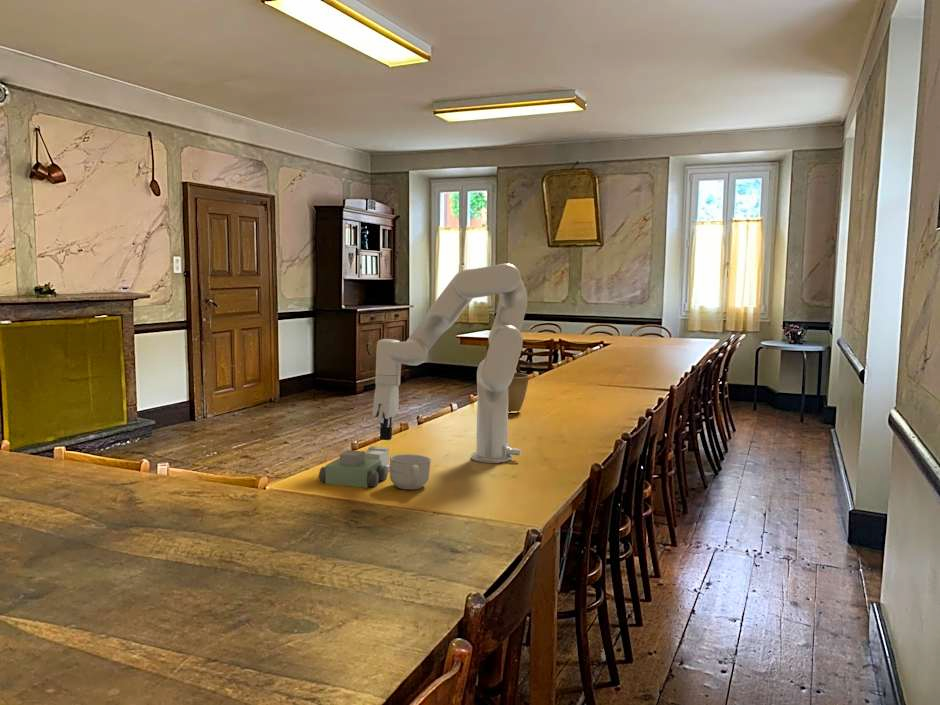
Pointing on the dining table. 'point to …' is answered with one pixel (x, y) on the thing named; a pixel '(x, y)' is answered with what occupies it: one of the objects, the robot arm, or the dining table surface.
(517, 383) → the plant pot
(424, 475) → the teacup
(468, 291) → the robot arm
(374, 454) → the light grey box
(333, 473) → the toy car
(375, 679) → the dining table surface
